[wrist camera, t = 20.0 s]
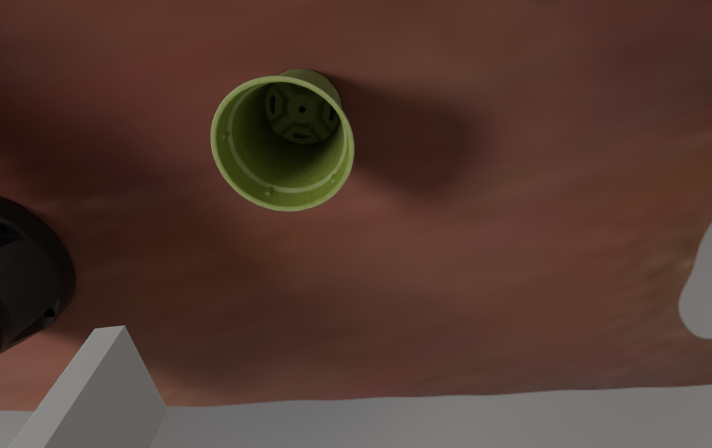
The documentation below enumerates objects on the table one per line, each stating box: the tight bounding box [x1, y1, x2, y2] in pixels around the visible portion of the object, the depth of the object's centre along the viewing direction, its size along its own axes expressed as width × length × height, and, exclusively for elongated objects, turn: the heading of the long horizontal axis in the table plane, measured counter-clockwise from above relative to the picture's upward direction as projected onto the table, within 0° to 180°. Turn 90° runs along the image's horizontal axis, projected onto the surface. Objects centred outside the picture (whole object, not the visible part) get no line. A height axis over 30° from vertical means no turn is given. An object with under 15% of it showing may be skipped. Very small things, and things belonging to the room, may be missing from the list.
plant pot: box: [211, 69, 354, 211], centre depth 40 cm, size 9×9×9 cm
